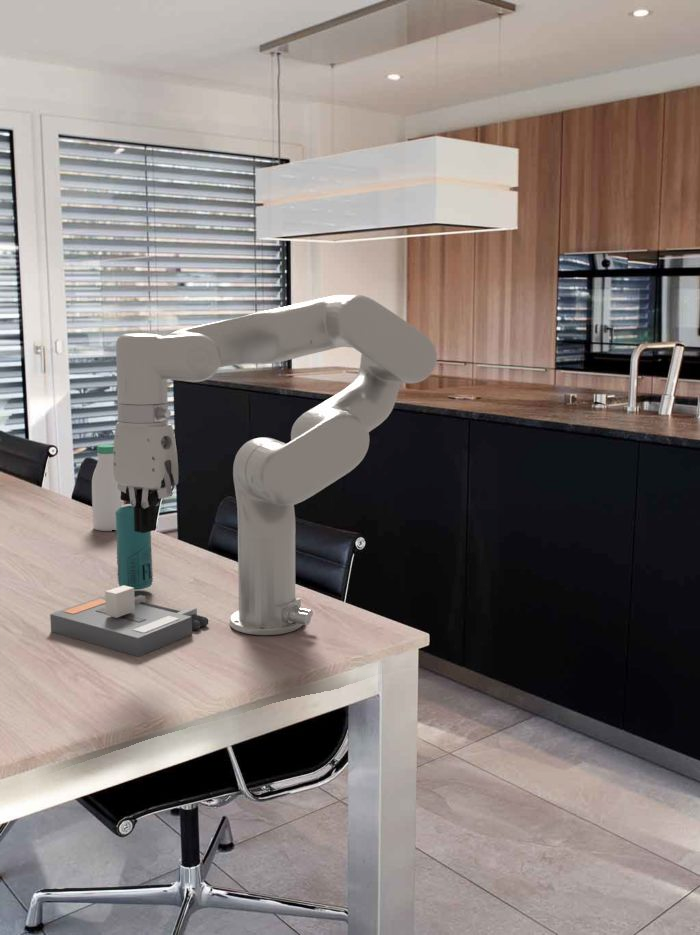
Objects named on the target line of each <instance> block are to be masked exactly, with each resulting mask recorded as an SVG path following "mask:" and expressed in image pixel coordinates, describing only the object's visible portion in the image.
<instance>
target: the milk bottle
mask: <svg viewBox="0 0 700 935" xmlns="http://www.w3.org/2000/svg"><path fill="white" fill-rule="evenodd" d="M113 449H114V444H109V443H108V444H100V445H97V447H96V451H97V456H98V457H97V458H98V459H97V463H96V466H95V468H94V470H93V474H92V478H91V504H92V506H91V507H92V525H93V529H94V530H95V531H101V532H113V531H112V530H115V531H116V515H115V513H116V511H117V510H118V509H119V508H120V507H121V506H122V505H126V504H127V503H126V502H127V501H123V500H121V498H120V496H121V491H120V490H119V489H118V483H117V482H116V481H115V478H114V471H113Z"/></svg>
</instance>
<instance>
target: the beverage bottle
mask: <svg viewBox="0 0 700 935" xmlns="http://www.w3.org/2000/svg"><path fill="white" fill-rule="evenodd" d="M120 498H121V500H123V501H126V502H130V498H129V497H128V495H127V493H124V492H122V491H121V496H120ZM115 515H116V530H115V531H116V564H117V565H116V566H117V569H116V572H117V575H116V576H117V577H116V578H117V583H118V585H119V586H118V587H120V586H123V585H125V586H129V587H133V588H134V591H136V590H144V589H148V588H150V587H151V586H152V585H153V582H154V578H153V559H152V558H153V554H152V553H153V551H152V550H153V548H152V534H153V533H151V532H152V531H150V532H146V533H140V532H135V530H134V507H133V506H132V505H131V503H126V505H122V506H121V507H120V508H119V509H118V510H117V511H116V513H115Z"/></svg>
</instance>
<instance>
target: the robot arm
mask: <svg viewBox="0 0 700 935" xmlns="http://www.w3.org/2000/svg"><path fill="white" fill-rule="evenodd" d="M339 348H352V349H355V350H356V351H357V352H359V353H361V354H360V355H361V356H360V364H359V369H358V372H357V375H356V377H355V379H354V380H353V381H352V382H351V383H350V384H349V385H348V386H346V387H344V388H343V389H341V390H340V391H339V392H337V393H336V394H334V395H332V396H331V397H329V398H327V399H326V400H324V401H322V402H321V403H319V404H317V405H316V406H314V407H312V408H310V409H309V410H307V411H305V412H303V413H302V414H301V415H300V416H299V417H298V418H296V420H295V422H293V424H292V427H291V432H290V441H289V442H287V443H285V442H283V441H280V440H278V439H275V438H272V437H257V438H253V439H250V440H248V441H246V442H245V443H244V444H243V445H242V446H241V447H240V448H239V450H238V451H237V453H236V454H235V458H234V461H233V467H232V471H233V472H232V476H233V485H234V492H235V497H236V508H237V558H238V559H237V564H238V566H237V567H238V568H237V570H238V571H237V572H238V576H237V577H238V610H236V611H235V612H233V613H232V614H231V615H230V617H229V625H230V626H231V628H232V629H234V630H235V631H236V632H240V633H242V634H247V635H254V636H255V635H256V636H277V635H283V634H287V633H291V632H294V631H296V630H298V629H300V628H301V627H303V626H308V625H309V624H310V622H311V619H312V617H313V610H312V609H310V608H303V607H302V605H301V601H302V600H301V597H296V514H295V513H296V512H295V505H298V504H299V503H302V502H304V501H306V500H308V499H309V498H311V497H313V496H315V495H316V494H318V493H320V492H321V491H322V490H324V489H325V488H327V487H328V486H330V485H331V484H333V483H335V482H336V481H338V480H339V479H341V478H342V477H344V476H346V475H348V474H349V473H351V472H352V471H353V470H354V469H355V468H356V467H358V465H359V464H360V463H361V462H362V461H363V460H364V458H365V456H366V454H367V452H368V450H369V447H370V446H369V445H370V434H369V433H370V432H371V431H373V430H374V429H376V428H377V427H378V426H380V425H381V424H383V422H384V421H386V420H387V419H388V417H389V415H390V414H391V413H392V411H393V409H394V406H395V404H396V401H397V398H398V395H399V394H398V393H399V390H400V384H401V383H405V384H416V383H421V382H422V381H424V380H426V379H428V378H429V377H430V376H431V375H432V374H433V372H434V370H435V368H436V365H437V363H438V362H437V361H438V359H437V358H438V357H437V350H436V348H435V344H434V343H433V341H432V340H431V339H430V338H429V337H428V335H427V334H425V333H424V332H423V331H421V330H420V329H418V328H417V327H415V326H413V325H412V324H411V323H409V322H408V321H406V320H404V319H403V318H401V317H400V316H399V315H397V314H396V313H394V312H393V311H391V310H390V309H388V308H387V307H385V306H384V305H382V304H380V303H379V302H378V301H376V300H374V299H373V298H370V297H368V296H365V295H361V294H336V295H330V296H326V297H321V298H316V299H313V300H312V299H311V300H308V301H303V302H299V303H293V304H291V305H287V306H282V307H277V308H271V309H268V310H263V311H258V312H254V313H251V314H247V315H243V316H239V317H235V318H229V319H224V320H219V321H215V322H211V323H206V324H201V325H197V326H192V327H187V328H183V329H179V330H175V331H173V332H170V333H169V334H167V335H165V336H162V335H160V334H158V333H123V334H122V335H119V337H118V338H117V339H116V343H115V356H116V387H117V388H116V389H117V390H116V392H117V396H116V397H117V422H116V425H115V431H114V438H113V439H114V440H113V445H114V449H113V471H114V478H115V481H116V482H117V483H118V489H119V490H120V491H122V492H124V493H127V495H128V497H129V498H130V501H129V502H130V503H129V504H131V505H132V506H133V507H134V530H135V532H140V533H146V532H150V531H151V532H152V531H155V530H156V529H157V506H159V505H160V501H161V500H162V499H165V498H169V497H172V496H173V495H174V494H173V493H174V492H173V488H172V487H175V486H177V485H178V484H179V462H178V459H179V458H178V450H177V445H176V444H177V443H176V438H175V433H174V429H173V425H172V424H171V423H169V418H170V417H171V410H170V409H168V408H169V407H168V406H169V405H168V403H169V402H168V381H169V380H170V381H171V380H172V381H173V380H174V381H183V382H190V383H200V382H204V381H206V380H209V379H210V378H212V377H213V376H214V375H215V374H216V373H217V372H218V371H219V369H220V368H223V367H229V366H234V365H235V366H236V365H243V364H246V365H247V364H261V365H262V364H273V363H274V364H275V363H281V362H286V361H289V360H294V359H297V358H301V357H305V356H308V355H309V356H310V355H313V354H317V353H321V352H325V351H329V350H333V349H339Z"/></svg>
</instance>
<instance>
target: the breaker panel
mask: <svg viewBox="0 0 700 935" xmlns="http://www.w3.org/2000/svg"><path fill="white" fill-rule="evenodd" d="M49 617H50V618H49V620H50V632H51V633H55V634H57V635H62V636H65V637H69V638H72V639H76V640H79V641H81V642H82V641H83V642H86V643H90V644H93V645H95V646H96V645H97V646H99V647H104V648H106V649H110V650H114V651H118V652H120V653H121V652H122V653H124V654H127V655H128V654H129V655H131V656H135V657H139V658H140V657H141V655H142V656H144V655H146V654H149V653H151V652H153V651H155V650H156V651H157V650H159V649H160V648H162V647H165V646H168V645H169V644H173V643H175V642H176V641H180V640H181V639H184V638H187V637H190V636H191V635H193V629H192V617H191V616H187V615H183V614H179V613H174V612H170V611H166V610H162V609H158V608H154V607H150V606H146V605H142V604H138V603H135V611H134V612H131V613H128V614H126V615H123V616H120V617H118V618H116V617H112V616H108V615H106V595H103V596H101V597H98V598H94V599H91V600H87V601H86V602H83V603H79V604H76V605H73V606H71V607H68V608H65V609H61V610H58V611H56V612H52V613H50V614H49Z"/></svg>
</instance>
